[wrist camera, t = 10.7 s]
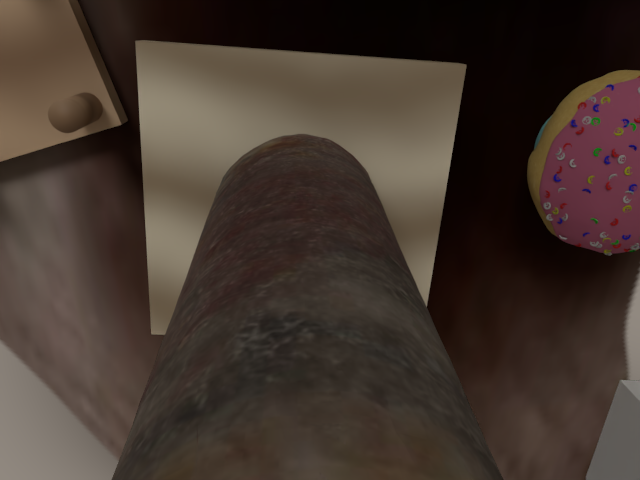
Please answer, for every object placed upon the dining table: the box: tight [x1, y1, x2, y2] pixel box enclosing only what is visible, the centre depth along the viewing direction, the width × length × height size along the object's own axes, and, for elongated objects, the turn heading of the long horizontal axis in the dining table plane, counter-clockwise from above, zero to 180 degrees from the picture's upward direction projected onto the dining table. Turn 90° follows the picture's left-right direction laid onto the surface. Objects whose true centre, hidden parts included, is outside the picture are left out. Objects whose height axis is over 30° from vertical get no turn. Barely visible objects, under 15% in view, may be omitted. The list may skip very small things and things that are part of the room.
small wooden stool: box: [135, 40, 466, 335], centre depth 27 cm, size 14×14×4 cm
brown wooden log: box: [112, 134, 503, 480], centre depth 16 cm, size 8×7×20 cm
